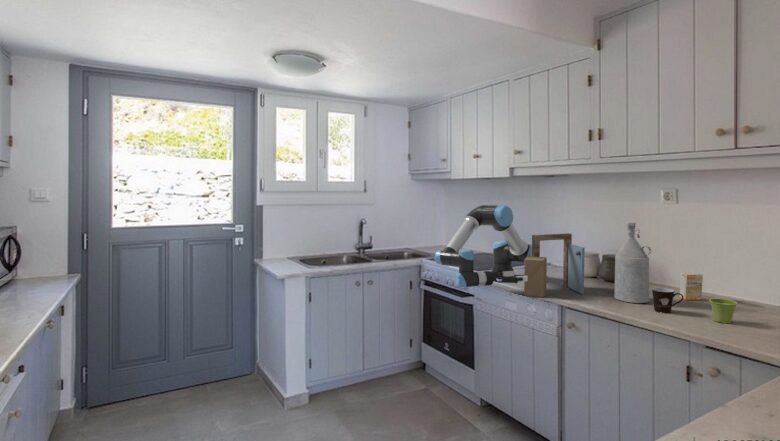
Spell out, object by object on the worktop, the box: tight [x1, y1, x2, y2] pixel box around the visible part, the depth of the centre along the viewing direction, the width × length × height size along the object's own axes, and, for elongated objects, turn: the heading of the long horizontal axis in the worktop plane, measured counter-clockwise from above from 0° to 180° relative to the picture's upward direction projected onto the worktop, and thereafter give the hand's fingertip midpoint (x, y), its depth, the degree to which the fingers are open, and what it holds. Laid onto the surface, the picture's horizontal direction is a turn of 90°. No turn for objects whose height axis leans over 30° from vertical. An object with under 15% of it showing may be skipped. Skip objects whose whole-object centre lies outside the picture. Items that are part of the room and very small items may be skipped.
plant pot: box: [708, 298, 738, 324], centre depth 181 cm, size 9×9×9 cm
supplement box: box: [679, 272, 703, 301], centre depth 216 cm, size 8×5×13 cm, turn 89°
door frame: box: [531, 232, 573, 289], centre depth 244 cm, size 3×24×31 cm, turn 104°
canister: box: [614, 221, 652, 304], centre depth 215 cm, size 13×17×40 cm
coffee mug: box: [651, 287, 684, 314], centre depth 196 cm, size 12×9×10 cm
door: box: [568, 243, 586, 295], centre depth 236 cm, size 17×3×25 cm, turn 2°
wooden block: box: [523, 256, 548, 298], centre depth 231 cm, size 10×10×20 cm
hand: (520, 275), depth 229 cm, fingers open, 13 cm apart
